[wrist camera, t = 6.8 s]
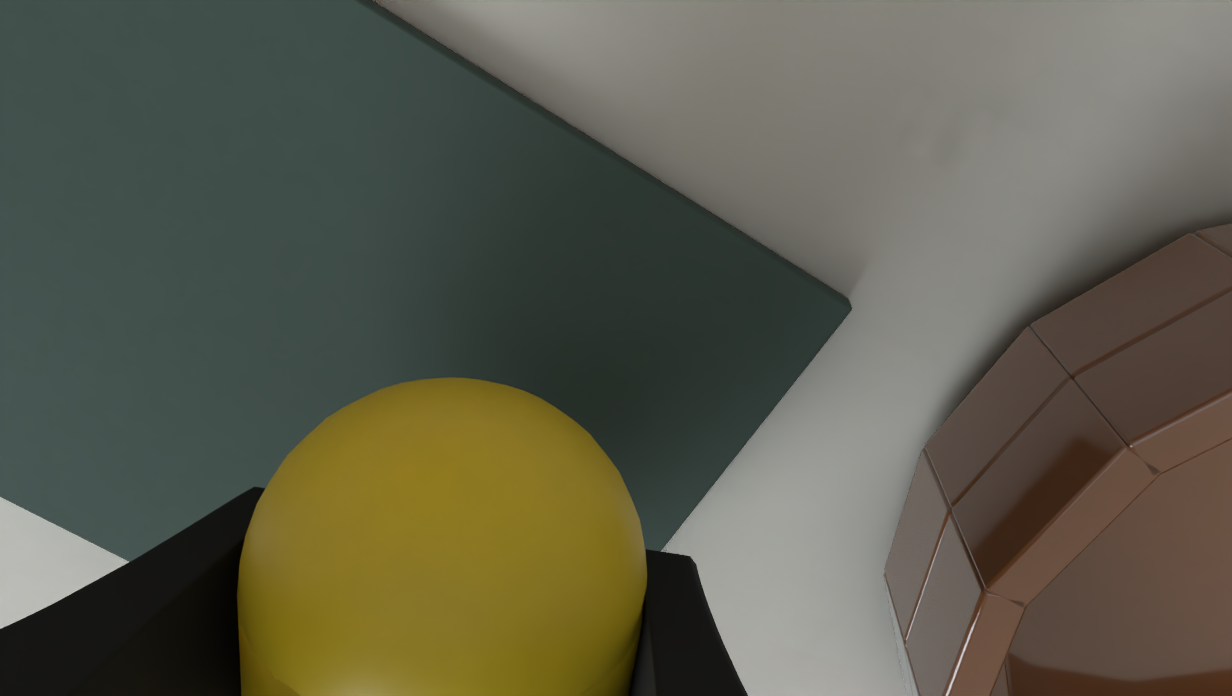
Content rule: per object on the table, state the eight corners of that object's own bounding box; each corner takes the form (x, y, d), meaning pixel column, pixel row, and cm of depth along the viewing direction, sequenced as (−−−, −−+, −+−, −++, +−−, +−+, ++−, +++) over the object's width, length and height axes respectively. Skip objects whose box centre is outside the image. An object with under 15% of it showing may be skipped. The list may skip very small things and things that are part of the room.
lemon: (614, 720, 15) (580, 1034, 11) (325, 672, 15) (178, 967, 11) (681, 346, 13) (671, 571, 8) (327, 290, 13) (131, 485, 8)
